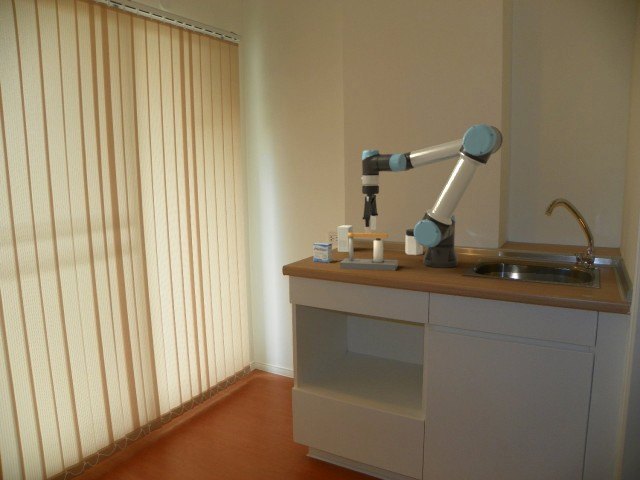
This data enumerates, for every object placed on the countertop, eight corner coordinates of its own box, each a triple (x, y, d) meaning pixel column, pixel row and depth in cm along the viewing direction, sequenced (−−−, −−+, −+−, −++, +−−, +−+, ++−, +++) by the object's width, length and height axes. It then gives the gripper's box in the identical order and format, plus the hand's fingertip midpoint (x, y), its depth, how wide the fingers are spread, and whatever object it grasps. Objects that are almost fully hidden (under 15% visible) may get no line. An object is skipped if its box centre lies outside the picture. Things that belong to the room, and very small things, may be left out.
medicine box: (313, 261, 232) (312, 243, 231) (317, 259, 236) (317, 242, 235) (328, 263, 229) (327, 244, 227) (332, 261, 233) (332, 243, 231)
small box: (341, 248, 265) (341, 224, 262) (353, 249, 262) (353, 225, 260) (337, 251, 257) (336, 226, 255) (348, 252, 255) (348, 227, 253)
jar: (413, 255, 242) (413, 231, 240) (401, 253, 249) (402, 230, 247) (426, 253, 247) (426, 230, 245) (414, 251, 254) (415, 228, 252)
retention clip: (388, 237, 213) (388, 233, 213) (387, 238, 211) (387, 234, 210) (348, 236, 218) (348, 232, 218) (347, 237, 215) (347, 233, 215)
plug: (383, 266, 217) (383, 237, 215) (382, 268, 213) (382, 239, 211) (374, 266, 218) (374, 237, 216) (372, 268, 214) (372, 239, 212)
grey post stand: (397, 266, 218) (398, 236, 216) (395, 271, 208) (395, 240, 206) (345, 264, 224) (344, 235, 222) (340, 269, 215) (339, 238, 213)
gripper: (367, 183, 232) (367, 228, 236) (356, 186, 209) (356, 235, 212) (383, 183, 230) (383, 228, 234) (373, 186, 207) (373, 236, 210)
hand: (370, 232), depth 223 cm, fingers open, 13 cm apart
